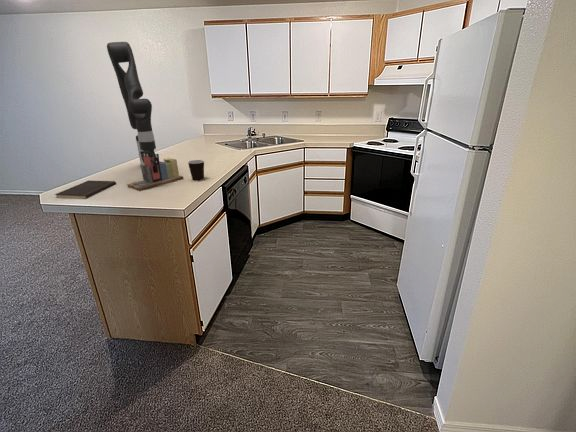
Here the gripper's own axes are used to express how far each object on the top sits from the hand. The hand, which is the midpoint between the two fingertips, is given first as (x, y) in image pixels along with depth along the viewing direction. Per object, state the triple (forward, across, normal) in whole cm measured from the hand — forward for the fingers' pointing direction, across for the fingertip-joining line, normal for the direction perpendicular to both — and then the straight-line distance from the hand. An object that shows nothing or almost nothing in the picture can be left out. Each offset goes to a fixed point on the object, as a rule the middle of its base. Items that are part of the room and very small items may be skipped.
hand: (152, 171), depth 165 cm
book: (+4, 0, 0) cm, 4 cm away
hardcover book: (+7, -17, -27) cm, 33 cm away
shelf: (+7, 0, +1) cm, 7 cm away
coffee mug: (+7, +12, +20) cm, 25 cm away
